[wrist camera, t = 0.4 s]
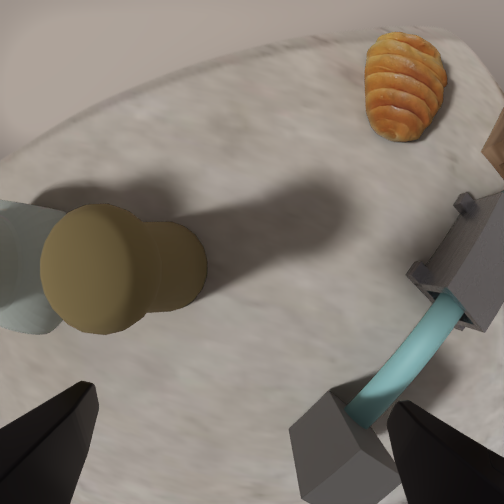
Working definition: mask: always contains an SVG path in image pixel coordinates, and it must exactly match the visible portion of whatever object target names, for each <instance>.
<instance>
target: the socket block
mask: <svg viewBox="0 0 504 504" xmlns="http://www.w3.org/2000/svg"><path fill="white" fill-rule="evenodd" d="M481 152H482V153H483V155H484V156H485V157H486V158H487V159H488V161H489V162H490V163H491V164H492V165H493V167H494V168H495V169H496V170H497V172H498V173H499V174H500V176H501V177H502V178H503V179H504V108H503V110H502V112H501V114H500V116H499V118H498V120H497V122H496V124H495V126H494V128H493V130H492V132H491V134H490V136H489V138H488V139H487V141H486V143H485V145H484V147H483V149H482V151H481Z"/></svg>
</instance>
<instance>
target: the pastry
mask: <svg viewBox="0 0 504 504" xmlns="http://www.w3.org/2000/svg"><path fill="white" fill-rule="evenodd" d="M446 85H447V75H446V71H445V70H444V68H443V64H442V61H441V57H440V53H439V52H438V50H437V49H436V48H435V47H434V46H433V45H432V44H431V43H429V42H427V41H426V40H424V39H423V38H421V37H419V36H417V35H411V34H406V33H403V32H392V33H388V34H385V35H382V36H380V37H379V38H378V39H377V41H376V43H375V44H374V45H372V46H371V47H370V49H369V50H368V52H367V59H366V66H365V98H366V114H367V116H368V119H369V122H370V125H371V127H372V129H373V130H374V131H375V132H376V133H377V134H378V135H380V136H382V137H384V138H386V139H388V140H390V141H394V142H407V141H412V140H417V139H419V138H420V136H421V134H422V133H423V131H424V130H425V129H426V128H427V127H428V126H429V125H430V124H431V123H432V120H433V117H434V116H435V115H436V113H437V111H438V110H439V108H440V107H441V105H442V103H443V92H444V87H446Z"/></svg>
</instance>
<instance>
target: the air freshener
mask: <svg viewBox="0 0 504 504" xmlns="http://www.w3.org/2000/svg"><path fill="white" fill-rule="evenodd" d="M65 215H66V212H64V211H60V210H56V209H51V208H46V207H41V206H36V205H30V204H24V203H18V202H12V201H5V200H0V327H3V328H6V329H9V330H12V331H16V332H21V333H27V334H36V335H40V334H47V333H50V332H51V331H53V330H54V329H55V328H56V327H57V326H58V325H59V324H60V323H61V322H62V320H63V319H62V318H61V317H60V316H59V315H58V314H57V313H56V312H55V311H54V310H53V309H52V307H51V305H50V303H49V301H48V300H47V298H46V296H45V294H44V290H43V286H42V282H41V278H40V258H41V254H42V250H43V246H44V243H45V241H46V239H47V237H48V235H49V234H50V232H51V230H52V228H53V227H54V226H55V224H56V223H57V222H59V221H60V220H61V219H62V218H63V217H64V216H65Z"/></svg>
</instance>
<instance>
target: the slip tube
mask: <svg viewBox="0 0 504 504" xmlns="http://www.w3.org/2000/svg"><path fill="white" fill-rule="evenodd" d="M502 192H503V193H504V191H502ZM463 313H464V311H463V310H462V309H461V308H460V307H459V306H458V304H457V303H456V302H455V301H454V300H453V299H452V297H451V296H450V295H449V294H445V293H440V295H439V296H438V297H437V299H436V300H435V302H434V303H433V304H432V306H431V307H430V309H429V310H428V311H427V313H426V314H425V315H424V317H423V318H422V319H421V321H420V322H419V323H418V324H417V326H416V327H415V328H414V330H413V331H412V332H411V333H410V335H409V336H408V337H407V338H406V340H405V341H404V342H403V343H402V345H401V346H400V347H399V348H398V350H397V351H396V352H395V353H394V354H393V355H392V357H391V358H390V359H389V360H388V361H387V363H386V364H385V365H384V366H383V367H382V368H381V369H380V371H379V372H378V373H377V374H376V375H375V376H374V377H373V378H372V379H371V381H370V382H369V383H368V384H367V385H366V386H365V387H364V388H363V389H362V390H361V391H360V392H359V393H358V394H357V395H356V397H355V398H354V399H353V400H352V401H351V402H350V403H349V404H348V405H346V404H345V403H344V402H343V401H341V400H340V399H339V398H337V397H336V396H335V395H334V394H332V393H331V392H330V391H329V390H328V391H327V392H326V393H325V394H324V395H323V396H322V397H321V398H320V399H319V400H318V401H317V402H316V403H315V404H314V405H313V406H312V407H311V408H310V409H309V410H308V411H307V412H306V413H305V414H304V415H303V416H302V417H301V418H300V419H299V420H298V421H297V422H296V423H295V424H293V425H292V426H291V427H290V428H289V434H290V439H291V445H292V450H293V456H294V461H295V467H296V473H297V478H298V484H299V489H300V495H301V499H303V500H304V501H306V502H308V503H310V504H377V503H378V502H379V501H381V500H382V499H383V498H384V497H386V496H387V495H388V494H389V493H390V492H391V491H393V490H394V489H395V488H396V487H397V486H398V485H400V484H401V479H400V476H399V473H398V470H397V467H396V464H395V462H394V460H393V459H392V457H391V456H390V454H389V453H388V451H387V450H386V449H385V447H384V446H383V444H382V443H381V441H380V440H379V438H378V437H377V435H376V434H375V432H374V431H373V430H372V428H371V427H370V426H371V425H372V424H373V423H374V422H375V421H376V420H377V419H378V418H379V417H380V416H381V415H382V414H383V413H384V412H385V411H386V410H387V409H388V407H389V406H390V405H391V404H392V403H393V402H394V401H395V400H396V399H397V398H398V397H399V395H400V394H401V393H402V392H403V391H404V390H405V389H406V388H407V386H408V385H409V384H410V383H411V382H412V381H413V379H414V378H415V377H416V376H417V375H418V373H419V372H420V371H421V370H422V369H423V367H424V366H425V365H426V364H427V362H428V361H429V360H430V359H431V357H432V356H433V355H434V354H435V352H436V351H437V350H438V348H439V347H440V346H441V344H442V343H443V342H444V340H445V339H446V338H447V336H448V335H449V333H450V332H451V331H452V329H453V328H454V326H455V325H456V324H457V322H458V321H459V319H460V318H461V316H462V315H463Z"/></svg>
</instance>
